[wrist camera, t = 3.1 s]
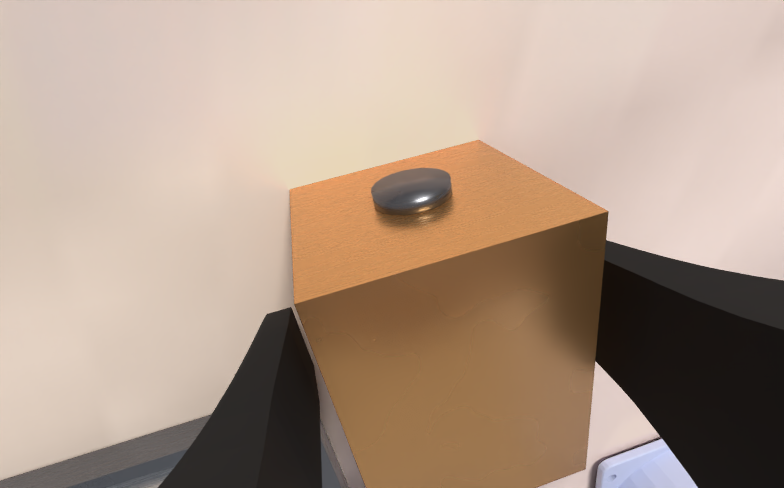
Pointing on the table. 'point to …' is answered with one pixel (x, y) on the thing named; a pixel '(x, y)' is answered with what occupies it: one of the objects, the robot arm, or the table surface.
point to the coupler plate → (144, 463)
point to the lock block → (453, 316)
